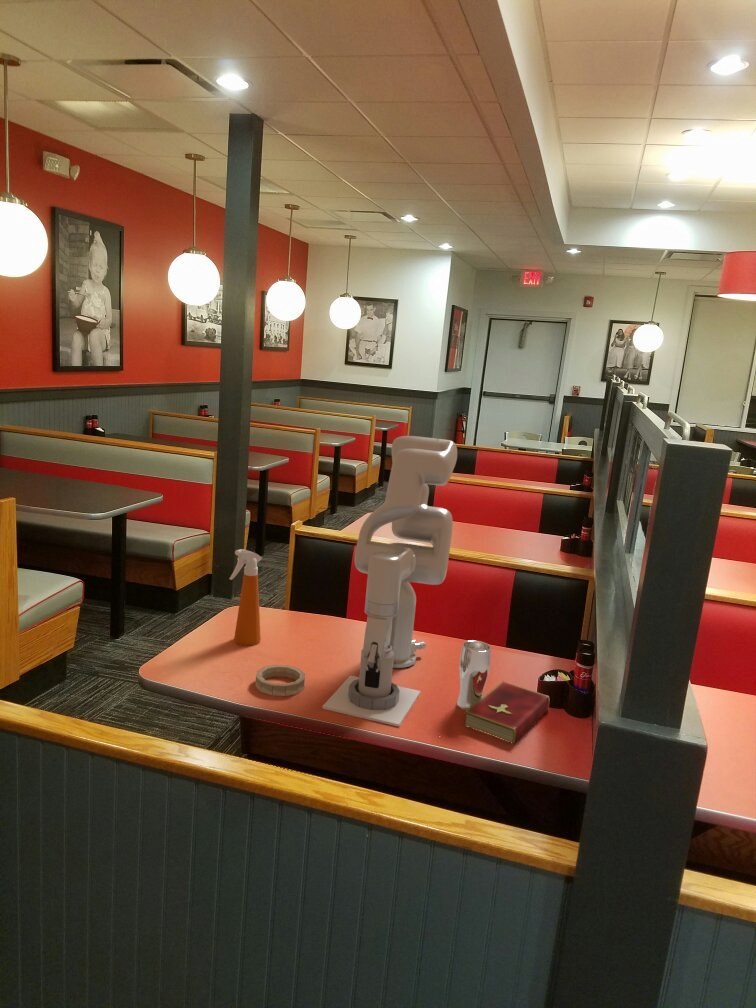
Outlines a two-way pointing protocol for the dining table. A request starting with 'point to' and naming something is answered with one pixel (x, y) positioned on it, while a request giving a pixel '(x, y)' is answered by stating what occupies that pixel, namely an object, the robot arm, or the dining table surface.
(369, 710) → the holder
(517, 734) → the hardcover book
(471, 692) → the silver tumbler
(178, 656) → the dining table surface
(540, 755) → the dining table surface
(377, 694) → the can
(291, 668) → the stand ring
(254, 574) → the spray bottle
